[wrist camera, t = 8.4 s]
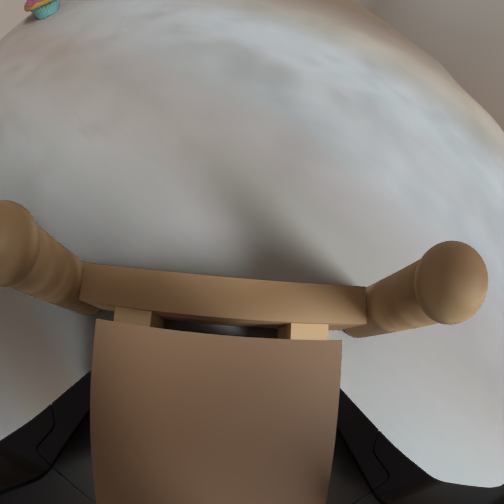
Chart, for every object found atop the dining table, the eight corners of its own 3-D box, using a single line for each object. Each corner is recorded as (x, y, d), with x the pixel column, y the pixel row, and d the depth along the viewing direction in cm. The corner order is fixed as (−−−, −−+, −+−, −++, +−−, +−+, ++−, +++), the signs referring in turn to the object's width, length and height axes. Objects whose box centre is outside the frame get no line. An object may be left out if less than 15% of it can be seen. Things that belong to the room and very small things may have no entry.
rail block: (253, 419, 16) (322, 540, 4) (176, 412, 15) (95, 522, 3) (258, 345, 17) (346, 334, 5) (181, 339, 17) (91, 311, 5)
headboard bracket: (375, 427, 16) (493, 465, 6) (58, 403, 14) (-59, 423, 4) (379, 291, 19) (494, 233, 9) (72, 265, 18) (-28, 186, 7)
